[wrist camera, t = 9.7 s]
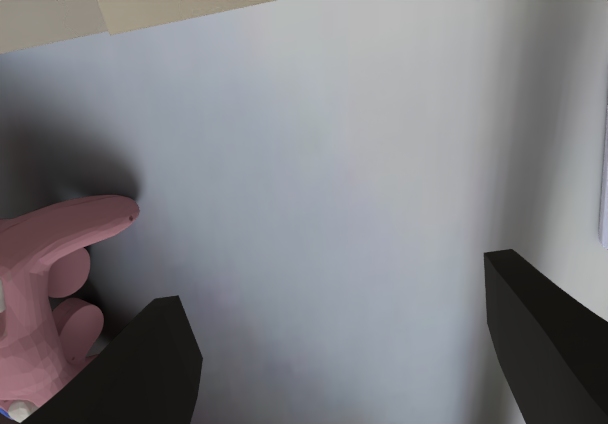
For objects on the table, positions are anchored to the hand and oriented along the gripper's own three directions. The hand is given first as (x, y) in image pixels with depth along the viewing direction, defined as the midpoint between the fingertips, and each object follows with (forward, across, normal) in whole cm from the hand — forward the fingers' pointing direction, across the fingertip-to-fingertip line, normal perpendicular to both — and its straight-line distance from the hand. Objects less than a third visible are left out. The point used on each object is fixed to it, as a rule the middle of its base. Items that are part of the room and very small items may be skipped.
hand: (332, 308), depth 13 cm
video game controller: (+10, +12, +4) cm, 16 cm away
